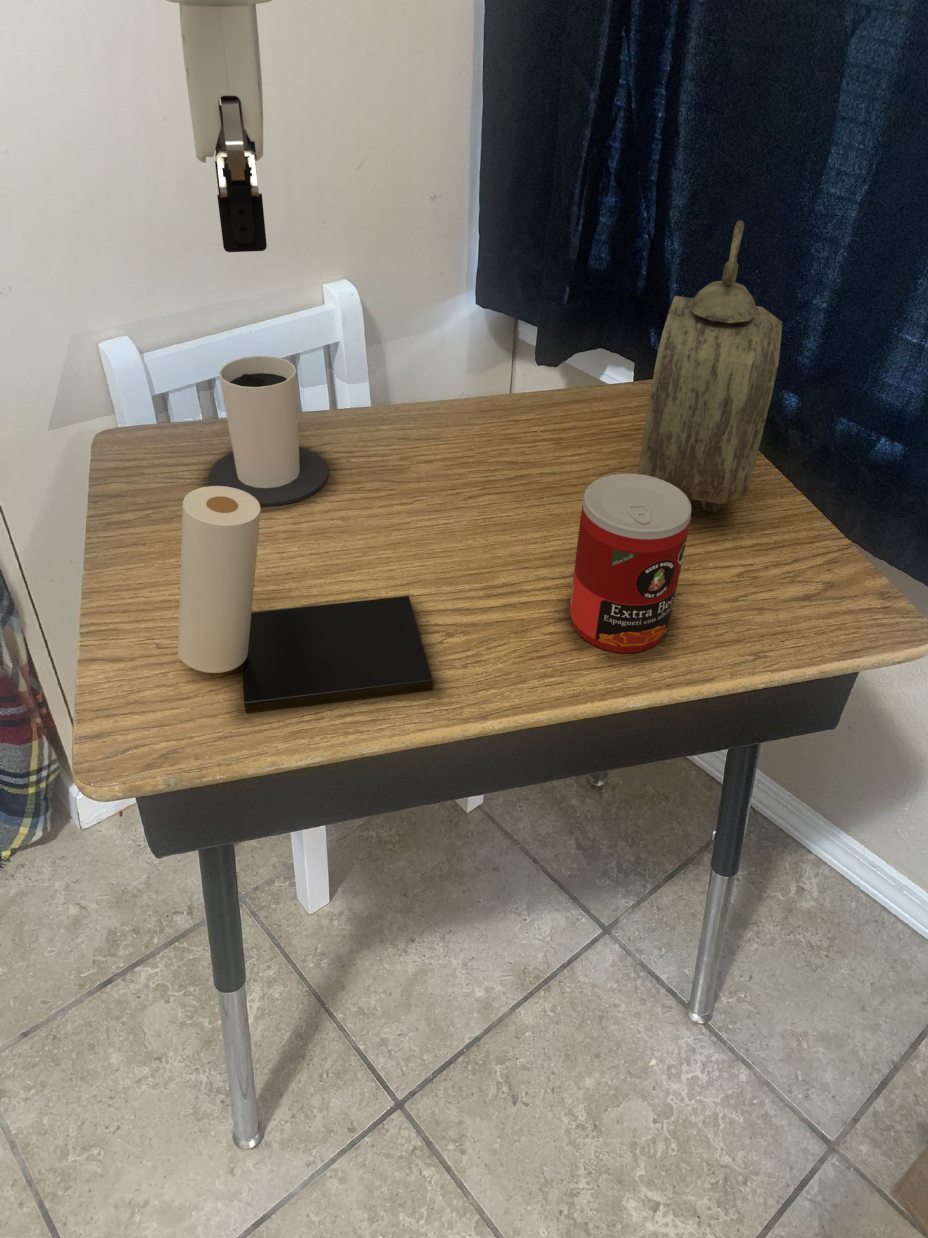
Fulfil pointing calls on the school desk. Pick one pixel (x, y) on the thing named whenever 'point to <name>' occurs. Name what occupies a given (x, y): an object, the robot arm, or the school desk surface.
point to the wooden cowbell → (711, 390)
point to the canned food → (628, 561)
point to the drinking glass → (262, 419)
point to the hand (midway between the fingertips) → (243, 230)
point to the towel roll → (217, 577)
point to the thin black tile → (333, 654)
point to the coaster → (299, 489)
